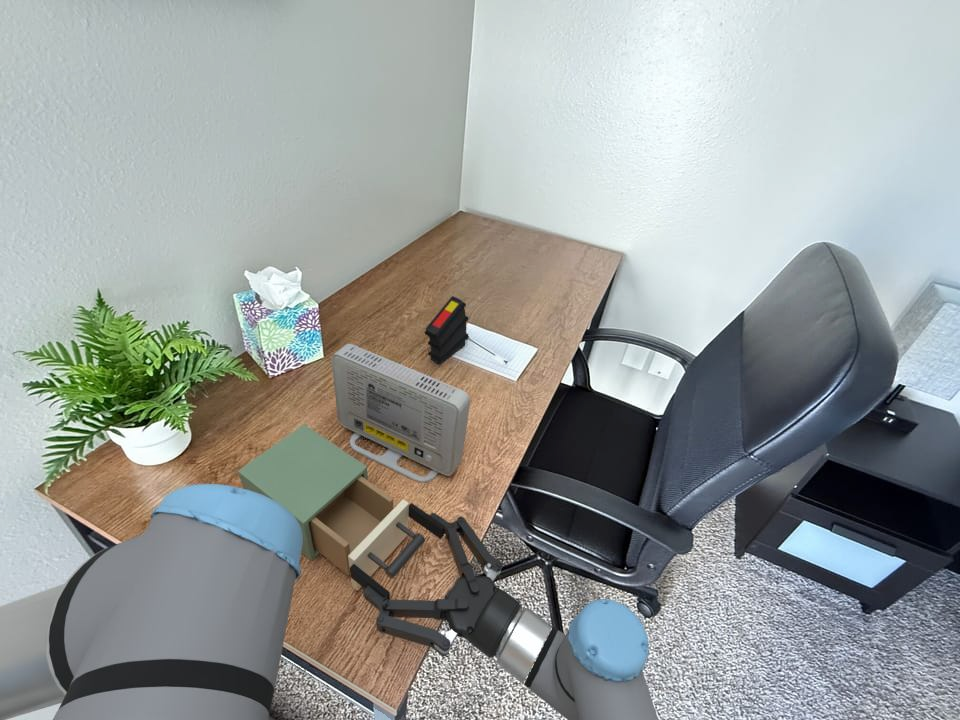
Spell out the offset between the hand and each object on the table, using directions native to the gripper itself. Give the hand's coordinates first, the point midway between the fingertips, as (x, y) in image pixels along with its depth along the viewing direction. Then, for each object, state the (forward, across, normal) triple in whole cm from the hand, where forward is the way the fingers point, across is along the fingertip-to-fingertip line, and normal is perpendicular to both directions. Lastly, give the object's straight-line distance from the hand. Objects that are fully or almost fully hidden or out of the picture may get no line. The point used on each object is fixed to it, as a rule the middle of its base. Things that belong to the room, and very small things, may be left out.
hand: (382, 538), depth 68 cm
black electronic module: (+24, +49, -8) cm, 55 cm away
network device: (+13, +18, -8) cm, 24 cm away
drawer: (+4, 0, -6) cm, 8 cm away
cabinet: (+16, 0, -8) cm, 18 cm away
